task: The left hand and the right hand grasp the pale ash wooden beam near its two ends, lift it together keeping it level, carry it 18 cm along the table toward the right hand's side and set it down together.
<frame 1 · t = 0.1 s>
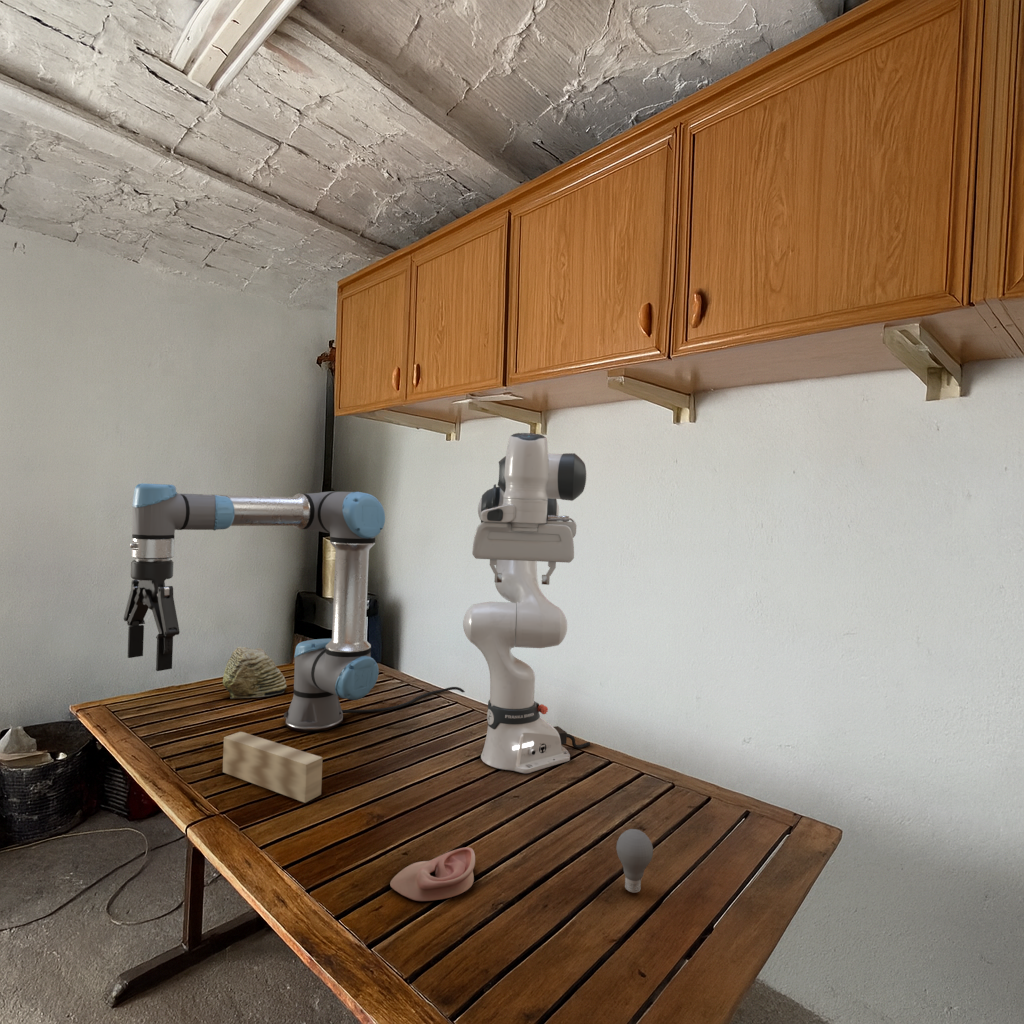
left hand: (149, 663, 129), 28 cm above the table, fingers open, 13 cm apart
right hand: (521, 583, 126), 48 cm above the table, fingers open, 8 cm apart
light bulb: (632, 891, 106), on the table
ash beam: (270, 783, 139), on the table
fossil: (254, 694, 198), on the table
anatomical model: (433, 882, 106), on the table
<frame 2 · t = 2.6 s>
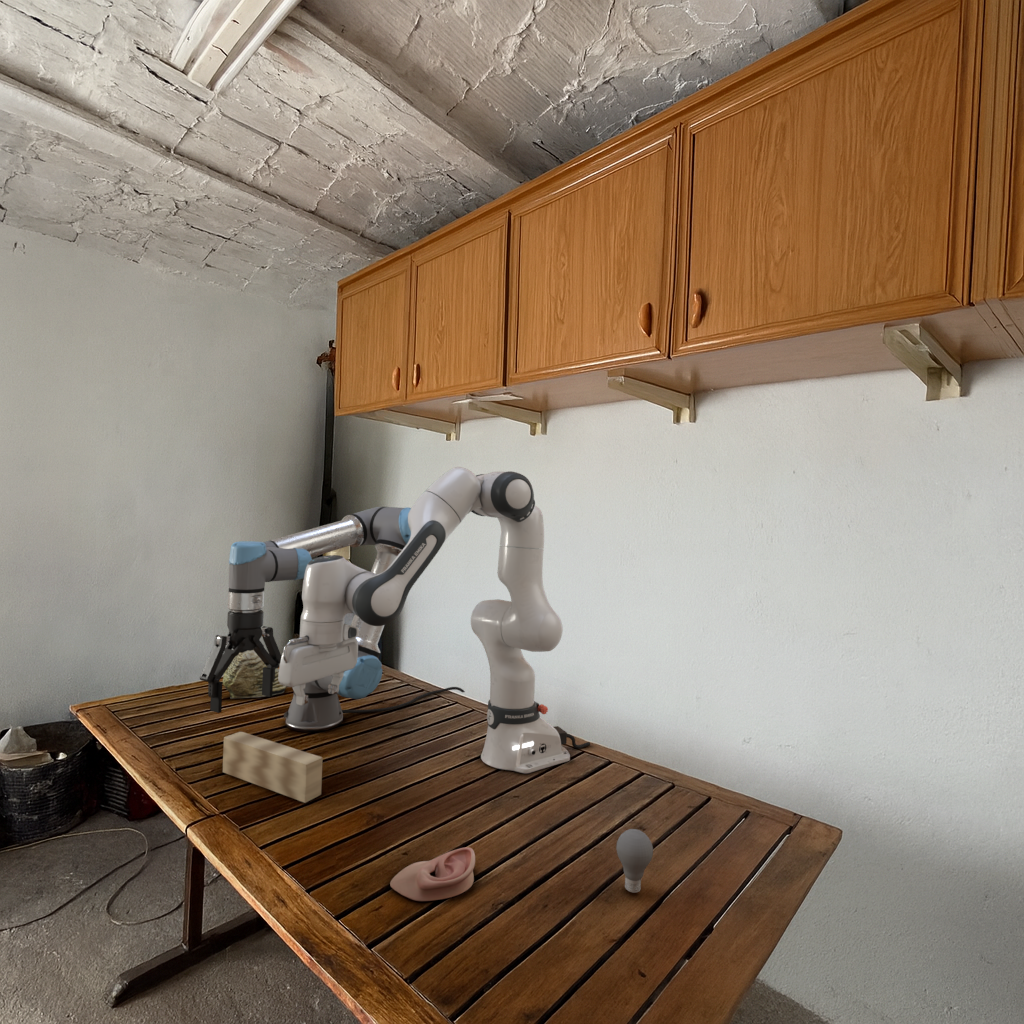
left hand: (242, 703, 144), 16 cm above the table, fingers open, 13 cm apart
right hand: (318, 698, 133), 21 cm above the table, fingers open, 8 cm apart
nothing on the table moved.
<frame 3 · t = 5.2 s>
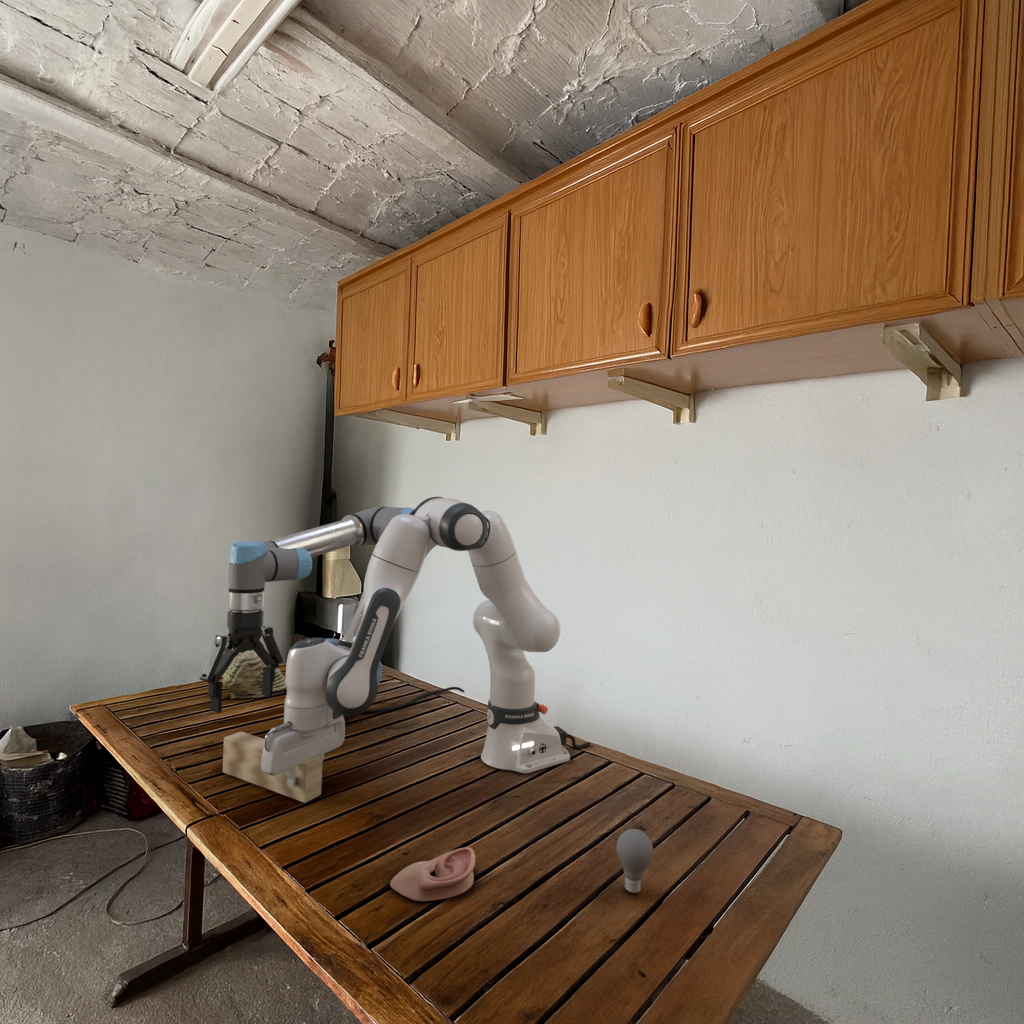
left hand: (242, 703, 144), 16 cm above the table, fingers open, 13 cm apart
right hand: (303, 780, 134), 3 cm above the table, fingers closed on ash beam, 4 cm apart
ash beam: (270, 783, 139), on the table, touching right hand
everything else where it was.
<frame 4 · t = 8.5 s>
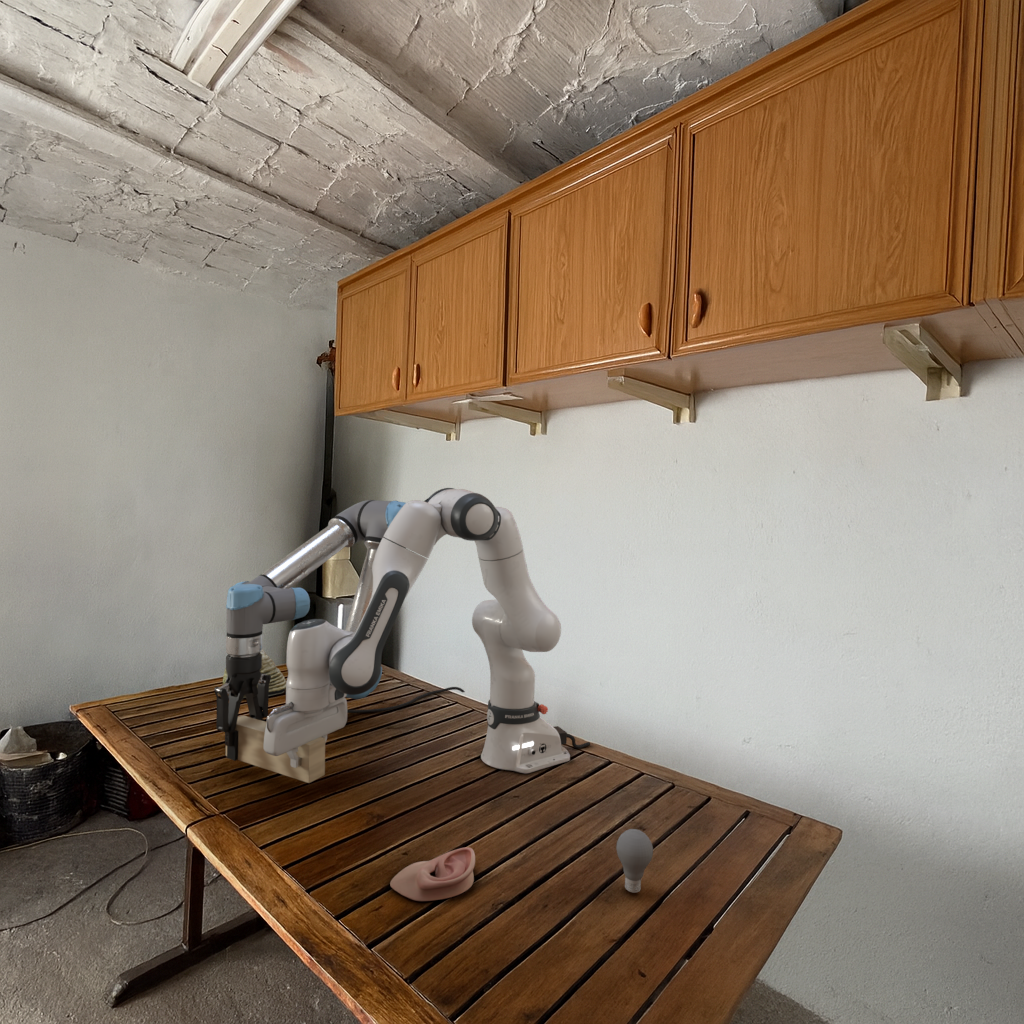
left hand: (242, 754, 144), 4 cm above the table, fingers closed on ash beam, 4 cm apart
right hand: (307, 761, 135), 7 cm above the table, fingers closed on ash beam, 4 cm apart
ash beam: (273, 765, 139), point 4 cm above the table, touching left hand, right hand
everything else where it was.
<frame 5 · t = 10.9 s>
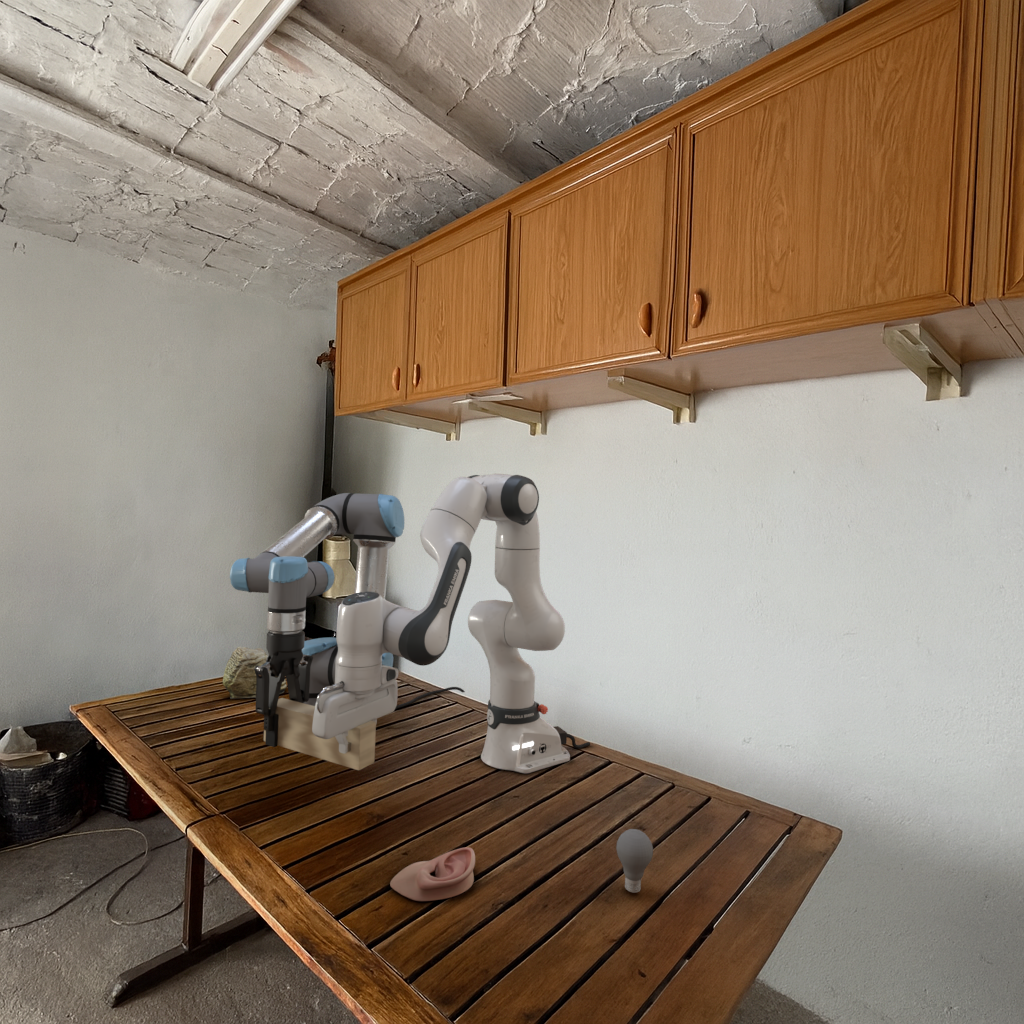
left hand: (281, 741, 133), 12 cm above the table, fingers closed on ash beam, 5 cm apart
right hand: (355, 746, 123), 15 cm above the table, fingers closed on ash beam, 4 cm apart
ash beam: (317, 751, 128), point 12 cm above the table, touching left hand, right hand
everything else where it was.
when the left hand's fingers open (0 cm above the table, at t = 13.6 s): ash beam stays where it is, on the table.
when the right hand's fingers open (4 cm above the table, at t = 13.8 s): ash beam stays where it is, on the table.
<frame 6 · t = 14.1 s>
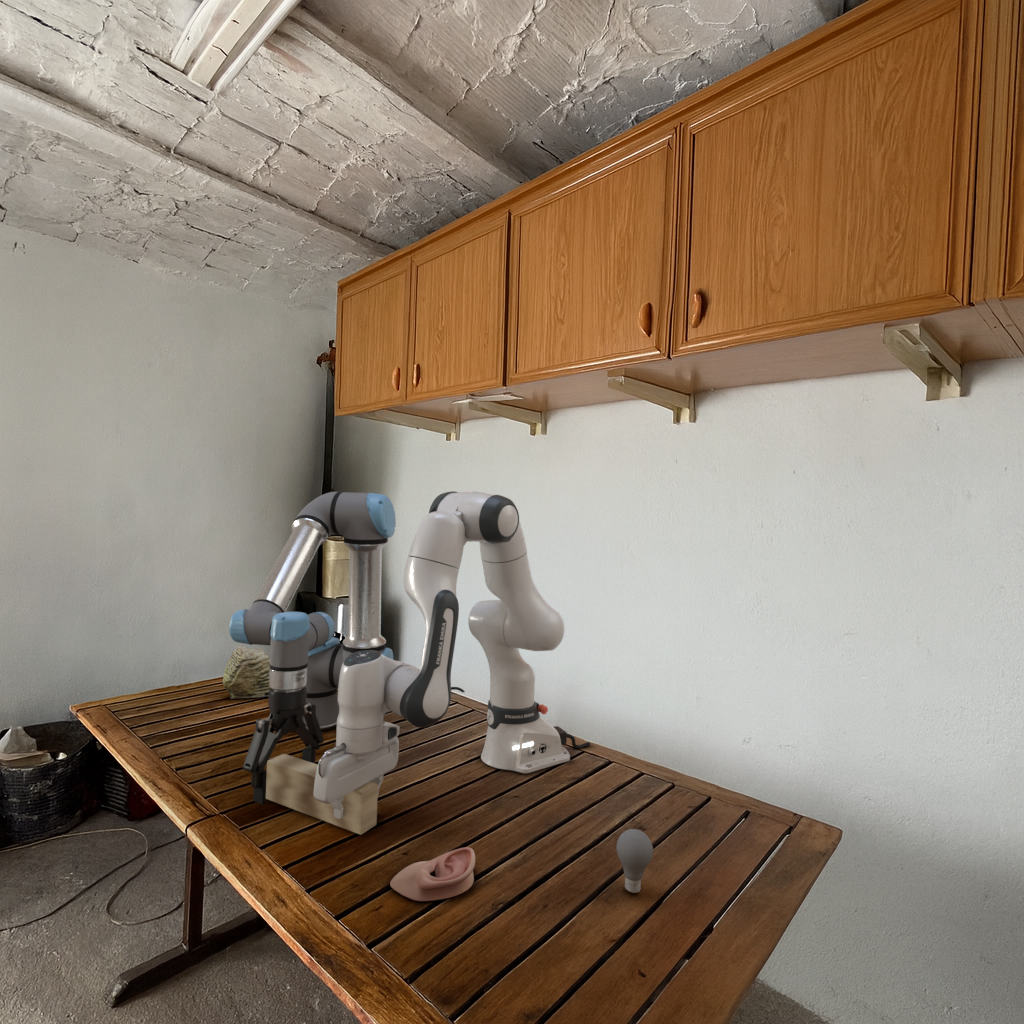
left hand: (284, 790, 133), 2 cm above the table, fingers open, 12 cm apart
right hand: (356, 806, 123), 4 cm above the table, fingers open, 8 cm apart
ash beam: (319, 811, 128), on the table
everything else where it was.
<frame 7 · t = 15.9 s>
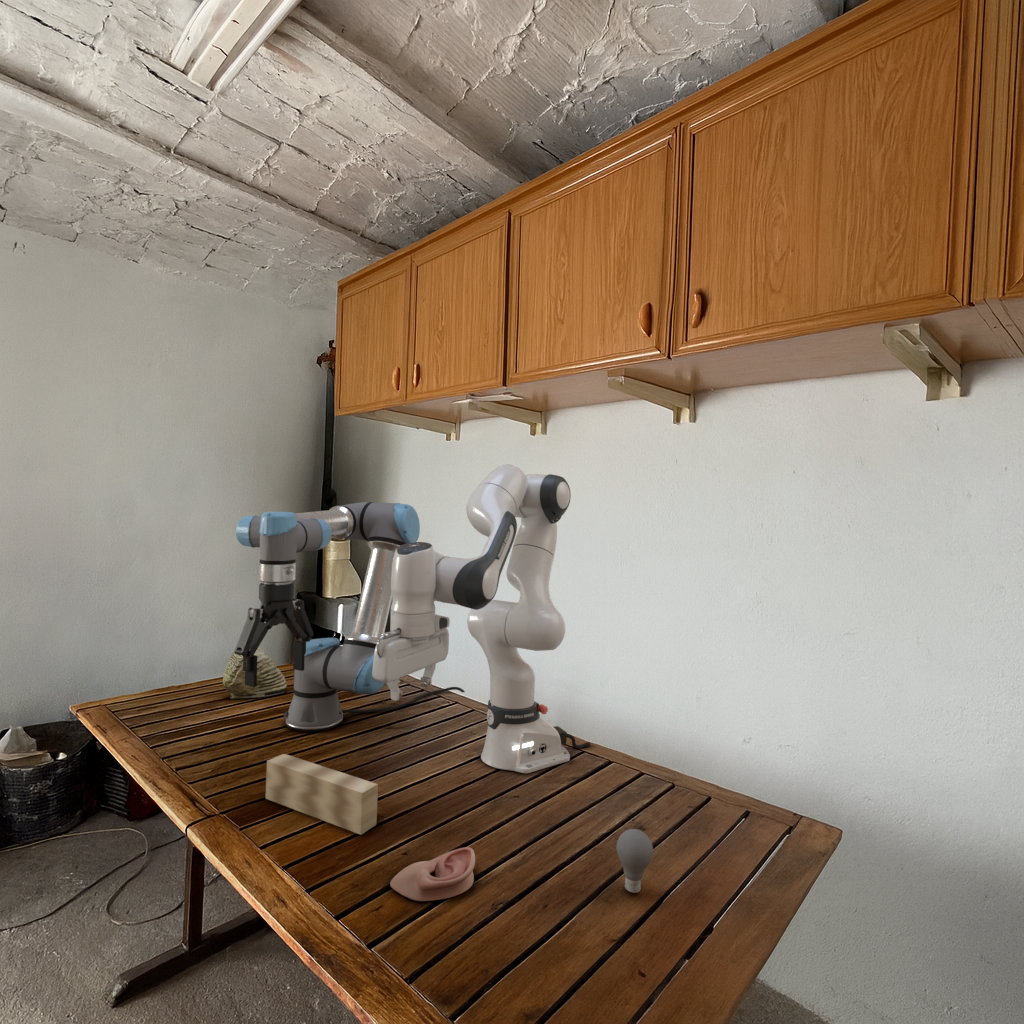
left hand: (275, 677, 140), 23 cm above the table, fingers open, 13 cm apart
right hand: (411, 692, 127), 25 cm above the table, fingers open, 8 cm apart
nothing on the table moved.
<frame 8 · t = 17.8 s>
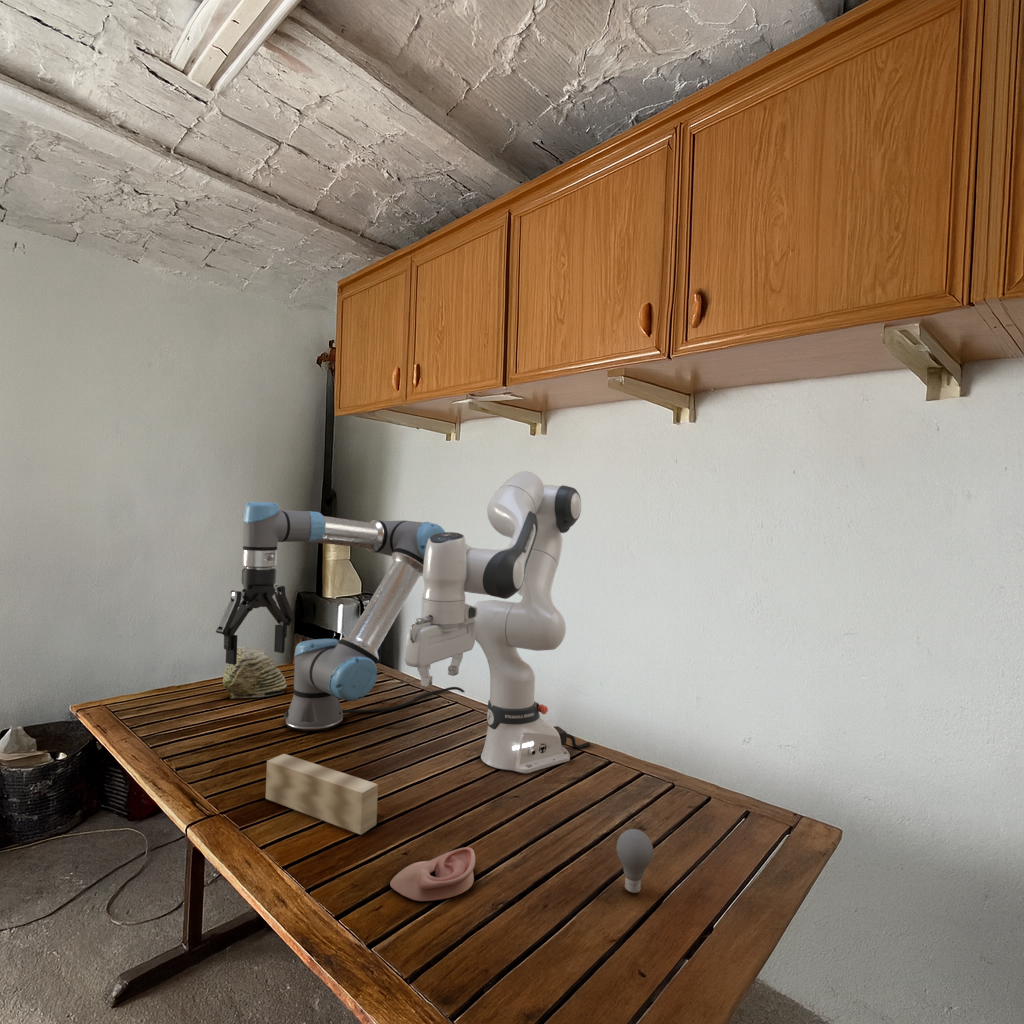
left hand: (256, 657, 149), 25 cm above the table, fingers open, 13 cm apart
right hand: (440, 680, 129), 27 cm above the table, fingers open, 8 cm apart
nothing on the table moved.
at the end: ash beam inside the target area (0.2 cm from its centre), on the table; both hands held the ash beam at the same time; ash beam never tilted more than 2° during the clip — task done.
